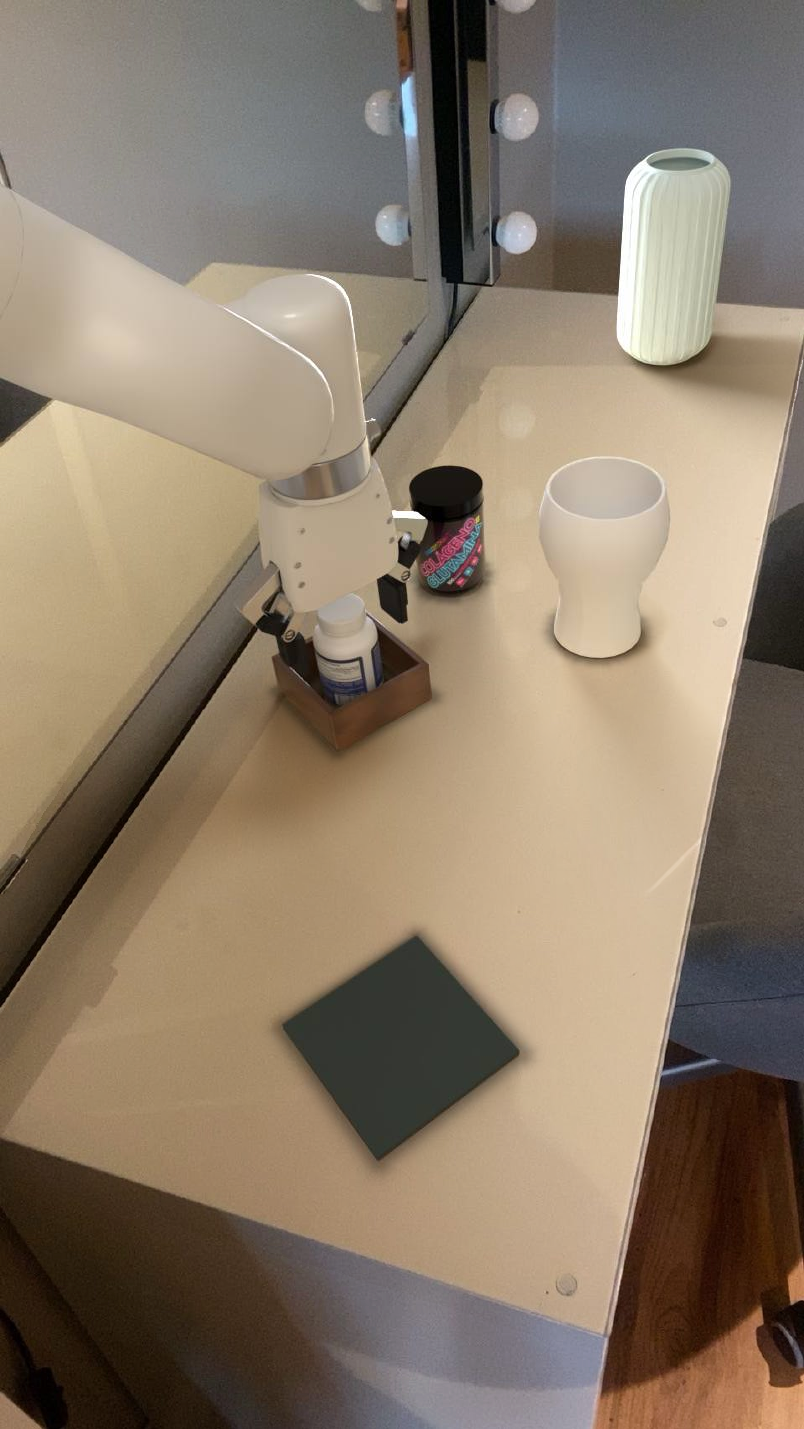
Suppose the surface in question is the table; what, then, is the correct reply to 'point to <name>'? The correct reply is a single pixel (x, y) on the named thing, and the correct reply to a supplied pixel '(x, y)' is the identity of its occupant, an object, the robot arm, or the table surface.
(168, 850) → the table surface
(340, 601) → the pill bottle
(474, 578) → the supplement container
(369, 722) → the crate
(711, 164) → the vase
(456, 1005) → the pad
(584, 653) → the cup
